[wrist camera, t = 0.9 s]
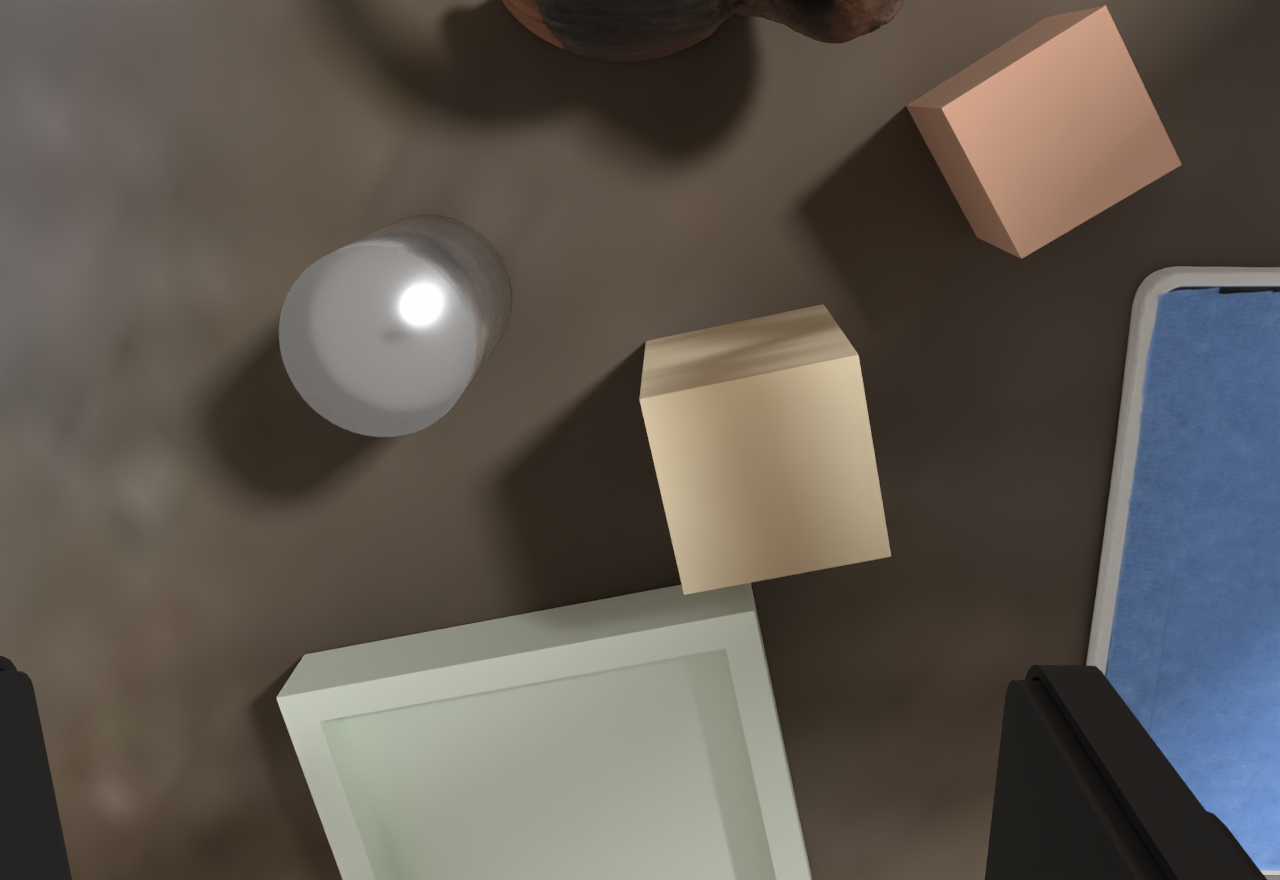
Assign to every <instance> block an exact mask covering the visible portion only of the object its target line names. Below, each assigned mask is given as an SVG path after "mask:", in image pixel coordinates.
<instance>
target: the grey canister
mask: <svg viewBox="0 0 1280 880" xmlns="http://www.w3.org/2000/svg"><path fill="white" fill-rule="evenodd" d="M511 308H512V289H511V283H510V278H509V275H508V272H507V269H506V267H505V265H504V263H503V260H502V259H501V257H500V255H499V254H498V252H497V251H496V249H495V248H494V247H493V246H492V245H491V243H490V242H489V241H488V240H487V239H486V238H485V237H484V236H483V235H482V234H480V233H479V232H477V231H476V230H475V229H473V228H472V227H470V226H468V225H466V224H465V223H463V222H460V221H458V220H455V219H452V218H448V217H444V216H438V215H418V216H412V217H408V218H405V219H401V220H399V221H397V222H395V223H393V224H391V225H388V226H386V227H384V228H382V229H380V230H378V231H376V232H374V233H372V234H370V235H368V236H365V237H363V238H361V239H359V240H357V241H355V242H353V243H351V244H349V245H347V246H345V247H343V248H340V249H338V250H336V251H334V252H332V253H330V254H328V255H326V256H324V257H322V258H321V259H319V260H318V261H316V262H314V263H313V264H312V265H311V266H309V267H308V268H307V269H306V270H305V271H304V272H303V273H302V274H301V275H300V276H299V278H298V279H297V280H296V281H295V283H294V284H293V286H292V288H291V289H290V291H289V293H288V295H287V297H286V299H285V302H284V305H283V308H282V312H281V316H280V323H279V344H280V352H281V355H282V359H283V363H284V366H285V368H286V371H287V373H288V376H289V378H290V379H291V381H292V383H293V385H294V387H295V388H296V390H297V391H298V392H299V394H300V395H301V396H302V398H303V399H304V400H305V401H306V402H307V403H308V404H309V405H310V406H311V407H312V408H313V409H314V410H315V411H316V412H317V413H319V414H320V415H321V416H322V417H324V418H325V419H327V420H328V421H330V422H331V423H333V424H335V425H337V426H339V427H341V428H343V429H346V430H349V431H351V432H354V433H358V434H362V435H366V436H374V437H395V436H402V435H406V434H410V433H414V432H417V431H419V430H421V429H424V428H426V427H428V426H429V425H431V424H433V423H435V422H436V421H438V420H439V419H440V418H441V417H443V416H444V415H445V414H446V413H447V412H448V411H449V410H450V409H451V408H452V407H453V406H454V405H455V403H456V402H457V400H458V399H459V398H460V396H461V395H462V393H463V392H464V390H465V389H466V388H467V386H468V385H469V383H470V382H471V380H472V379H473V378H474V376H475V375H476V373H477V372H478V370H479V369H480V367H481V366H482V365H483V363H484V362H485V360H486V359H487V357H488V356H489V355H490V353H491V352H492V350H493V349H494V347H495V346H496V345H497V343H498V342H499V340H500V339H501V337H502V335H503V333H504V332H505V330H506V327H507V324H508V322H509V319H510V314H511Z"/></svg>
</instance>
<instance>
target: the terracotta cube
mask: <svg viewBox="0 0 1280 880" xmlns="http://www.w3.org/2000/svg"><path fill="white" fill-rule="evenodd" d="M906 107H907V109H908V111H909V112H910V114H911V116H912V118H913V120H914V122H915V124H916V125H917V127H918V129H919V131H920V133H921V135H922V137H923V138H924V140H925V142H926V144H927V146H928V148H929V150H930V151H931V153H932V155H933V157H934V159H935V161H936V163H937V164H938V166H939V168H940V170H941V172H942V174H943V175H944V177H945V179H946V181H947V183H948V185H949V187H950V188H951V190H952V192H953V194H954V196H955V198H956V200H957V201H958V203H959V205H960V207H961V209H962V211H963V213H964V214H965V216H966V218H967V220H968V222H969V224H970V226H971V227H972V229H973V231H974V233H975V235H976V237H977V238H979V239H981V240H983V241H985V242H988V243H990V244H992V245H994V246H996V247H998V248H1000V249H1002V250H1004V251H1006V252H1008V253H1010V254H1012V255H1014V256H1016V257H1019V258H1021V259H1022V258H1024V257H1026V256H1027V255H1029V254H1031V253H1032V252H1034V251H1036V250H1037V249H1039V248H1041V247H1043V246H1044V245H1046V244H1048V243H1049V242H1051V241H1053V240H1054V239H1056V238H1058V237H1060V236H1061V235H1063V234H1065V233H1066V232H1068V231H1070V230H1071V229H1073V228H1075V227H1077V226H1078V225H1080V224H1082V223H1083V222H1085V221H1087V220H1089V219H1090V218H1092V217H1094V216H1095V215H1097V214H1099V213H1100V212H1102V211H1104V210H1106V209H1107V208H1109V207H1111V206H1112V205H1114V204H1116V203H1117V202H1119V201H1121V200H1123V199H1124V198H1126V197H1128V196H1129V195H1131V194H1133V193H1134V192H1136V191H1138V190H1140V189H1141V188H1143V187H1145V186H1146V185H1148V184H1150V183H1152V182H1153V181H1155V180H1157V179H1158V178H1160V177H1162V176H1163V175H1165V174H1167V173H1169V172H1170V171H1172V170H1174V169H1175V168H1177V167H1179V166H1180V165H1182V164H1181V162H1180V160H1179V158H1178V156H1177V154H1176V152H1175V150H1174V147H1173V145H1172V143H1171V141H1170V139H1169V137H1168V135H1167V133H1166V131H1165V129H1164V126H1163V124H1162V122H1161V120H1160V118H1159V116H1158V114H1157V112H1156V110H1155V108H1154V105H1153V103H1152V101H1151V99H1150V97H1149V95H1148V93H1147V91H1146V89H1145V87H1144V84H1143V82H1142V80H1141V78H1140V76H1139V74H1138V72H1137V70H1136V68H1135V66H1134V63H1133V61H1132V59H1131V57H1130V55H1129V53H1128V51H1127V49H1126V47H1125V45H1124V42H1123V40H1122V38H1121V36H1120V34H1119V32H1118V30H1117V28H1116V26H1115V24H1114V21H1113V19H1112V17H1111V15H1110V13H1109V11H1108V9H1107V7H1106V5H1104V6H1099V7H1094V8H1089V9H1084V10H1079V11H1074V12H1069V13H1064V14H1059V15H1054V16H1049V17H1046V18H1044V19H1043V20H1041V21H1040V22H1038V23H1037V24H1035V25H1033V26H1032V27H1030V28H1029V29H1027V30H1025V31H1024V32H1022V33H1021V34H1019V35H1018V36H1016V37H1014V38H1013V39H1011V40H1010V41H1008V42H1006V43H1005V44H1003V45H1002V46H1000V47H998V48H997V49H995V50H994V51H992V52H991V53H989V54H987V55H986V56H984V57H983V58H981V59H979V60H978V61H976V62H975V63H973V64H972V65H970V66H968V67H967V68H965V69H964V70H962V71H960V72H959V73H957V74H956V75H954V76H953V77H951V78H949V79H948V80H946V81H945V82H943V83H941V84H940V85H938V86H937V87H935V88H933V89H932V90H930V91H929V92H927V93H926V94H924V95H922V96H921V97H919V98H918V99H916V100H914V101H913V102H911V103H910V104H908V105H907V106H906Z"/></svg>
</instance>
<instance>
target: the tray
mask: <svg viewBox="0 0 1280 880" xmlns="http://www.w3.org/2000/svg"><path fill="white" fill-rule="evenodd" d="M276 699H277V702H278V704H279V707H280V710H281V713H282V715H283V718H284V721H285V723H286V726H287V729H288V732H289V734H290V737H291V740H292V743H293V745H294V748H295V751H296V754H297V756H298V759H299V762H300V764H301V767H302V770H303V773H304V775H305V778H306V781H307V784H308V786H309V789H310V792H311V795H312V797H313V800H314V803H315V805H316V808H317V811H318V814H319V816H320V819H321V822H322V825H323V827H324V830H325V833H326V836H327V838H328V841H329V844H330V846H331V849H332V852H333V855H334V857H335V860H336V863H337V866H338V868H339V871H340V874H341V877H342V879H343V880H812V876H811V872H810V867H809V862H808V857H807V852H806V847H805V843H804V838H803V833H802V828H801V823H800V818H799V814H798V809H797V804H796V799H795V794H794V789H793V784H792V780H791V775H790V770H789V765H788V760H787V755H786V751H785V746H784V741H783V736H782V731H781V726H780V722H779V717H778V712H777V707H776V702H775V697H774V693H773V688H772V683H771V678H770V673H769V668H768V664H767V659H766V654H765V649H764V644H763V639H762V635H761V630H760V625H759V620H758V615H757V610H756V606H755V601H754V596H753V591H752V586H751V583H746V584H740V585H735V586H729V587H724V588H719V589H713V590H708V591H703V592H697V593H692V594H686V595H684V593H683V588H682V585H676V586H671V587H666V588H660V589H655V590H649V591H644V592H639V593H633V594H628V595H623V596H617V597H612V598H606V599H601V600H596V601H590V602H585V603H579V604H574V605H569V606H563V607H558V608H553V609H547V610H542V611H536V612H531V613H526V614H520V615H515V616H510V617H504V618H499V619H493V620H488V621H483V622H477V623H472V624H467V625H461V626H456V627H450V628H445V629H440V630H434V631H429V632H424V633H418V634H413V635H407V636H402V637H397V638H391V639H386V640H381V641H375V642H370V643H364V644H359V645H354V646H348V647H343V648H337V649H332V650H327V651H321V652H316V653H311V654H305V655H304V656H303V657H302V659H301V661H300V662H299V664H298V665H297V667H296V668H295V670H294V671H293V673H292V674H291V676H290V677H289V679H288V680H287V682H286V684H285V685H284V687H283V688H282V690H281V691H280V693H279V694H278V696H277V697H276Z"/></svg>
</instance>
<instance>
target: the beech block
mask: <svg viewBox="0 0 1280 880" xmlns="http://www.w3.org/2000/svg"><path fill="white" fill-rule="evenodd" d="M639 400H640V404H641V409H642V413H643V417H644V422H645V426H646V431H647V435H648V439H649V444H650V448H651V452H652V457H653V461H654V466H655V470H656V474H657V479H658V483H659V487H660V492H661V496H662V501H663V505H664V509H665V514H666V518H667V523H668V527H669V531H670V536H671V540H672V544H673V549H674V553H675V558H676V562H677V566H678V571H679V575H680V580H681V584H682V588H683V593H684V595H686V594H692V593H697V592H703V591H708V590H713V589H719V588H724V587H729V586H735V585H740V584H746V583H751V582H756V581H762V580H767V579H773V578H778V577H783V576H789V575H794V574H800V573H805V572H810V571H816V570H821V569H827V568H832V567H837V566H843V565H848V564H854V563H859V562H864V561H870V560H875V559H881V558H886V557H891V552H890V546H889V539H888V533H887V527H886V521H885V515H884V509H883V502H882V496H881V490H880V484H879V478H878V472H877V465H876V459H875V453H874V447H873V441H872V435H871V429H870V422H869V416H868V410H867V404H866V398H865V392H864V385H863V379H862V373H861V367H860V361H859V355H858V353H857V352H856V350H855V349H854V347H853V346H852V345H851V343H850V342H849V340H848V339H847V337H846V336H845V334H844V333H843V332H842V330H841V329H840V327H839V326H838V324H837V323H836V322H835V320H834V319H833V317H832V316H831V314H830V313H829V311H828V310H827V309H826V307H825V306H824V304H822V305H817V306H812V307H807V308H803V309H798V310H793V311H788V312H783V313H779V314H774V315H769V316H764V317H759V318H755V319H750V320H745V321H740V322H735V323H731V324H726V325H721V326H716V327H712V328H707V329H702V330H697V331H692V332H688V333H683V334H678V335H673V336H668V337H664V338H659V339H654V340H649V341H646V345H645V354H644V363H643V372H642V381H641V389H640V398H639Z"/></svg>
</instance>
